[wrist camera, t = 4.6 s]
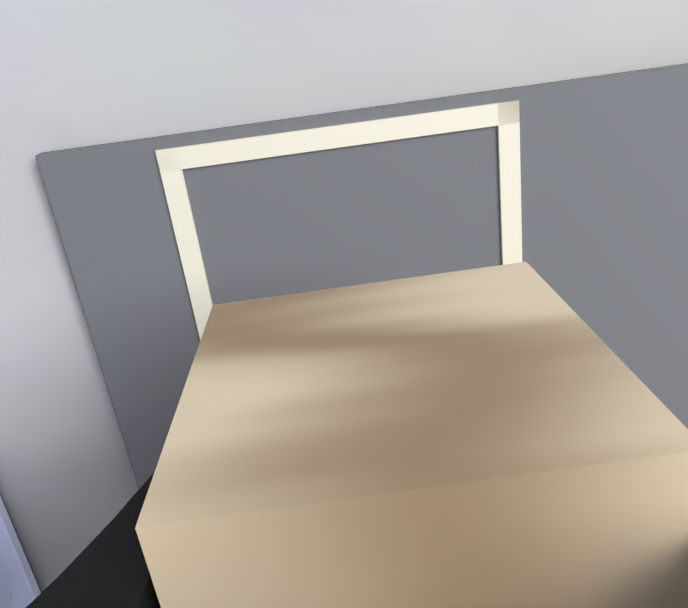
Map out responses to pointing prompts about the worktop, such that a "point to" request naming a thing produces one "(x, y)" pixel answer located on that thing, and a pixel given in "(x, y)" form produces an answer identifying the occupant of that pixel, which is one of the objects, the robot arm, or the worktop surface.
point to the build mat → (384, 222)
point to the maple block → (417, 456)
